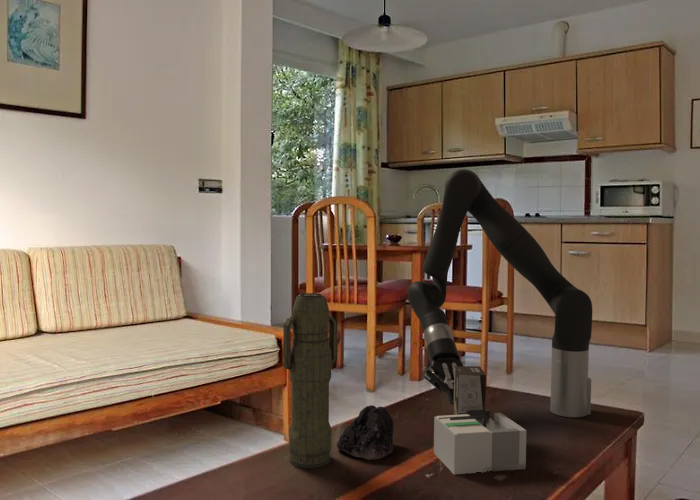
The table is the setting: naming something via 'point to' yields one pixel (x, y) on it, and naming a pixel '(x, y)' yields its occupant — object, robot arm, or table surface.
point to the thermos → (310, 379)
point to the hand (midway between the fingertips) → (457, 404)
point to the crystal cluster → (369, 434)
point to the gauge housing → (479, 445)
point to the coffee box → (469, 389)
